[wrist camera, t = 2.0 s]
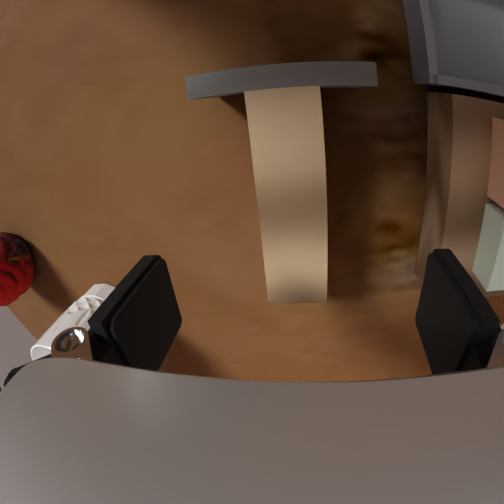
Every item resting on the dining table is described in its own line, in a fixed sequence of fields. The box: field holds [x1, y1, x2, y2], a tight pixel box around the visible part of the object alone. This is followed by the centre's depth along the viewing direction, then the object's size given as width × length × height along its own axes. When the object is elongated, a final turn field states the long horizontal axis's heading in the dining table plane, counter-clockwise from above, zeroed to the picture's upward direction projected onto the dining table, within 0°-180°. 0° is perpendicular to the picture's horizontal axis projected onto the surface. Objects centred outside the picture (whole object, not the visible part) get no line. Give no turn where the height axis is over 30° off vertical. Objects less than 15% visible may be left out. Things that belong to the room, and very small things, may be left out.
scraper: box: [185, 61, 378, 303], centre depth 18 cm, size 13×9×6 cm
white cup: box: [31, 283, 115, 361], centre depth 26 cm, size 8×8×10 cm
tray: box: [402, 0, 504, 98], centre depth 11 cm, size 10×13×3 cm
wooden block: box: [415, 92, 504, 297], centre depth 17 cm, size 14×11×4 cm
